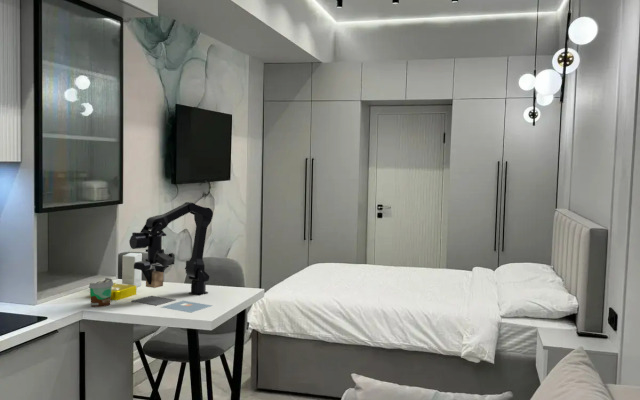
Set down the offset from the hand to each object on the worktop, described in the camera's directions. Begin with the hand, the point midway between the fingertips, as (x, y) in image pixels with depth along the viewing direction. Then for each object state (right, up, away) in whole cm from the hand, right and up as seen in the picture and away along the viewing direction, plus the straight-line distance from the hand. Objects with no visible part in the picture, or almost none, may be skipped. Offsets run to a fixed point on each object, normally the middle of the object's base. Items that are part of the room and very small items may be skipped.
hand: (154, 283), depth 251 cm
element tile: (-21, -7, +9) cm, 24 cm away
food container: (-18, -8, -8) cm, 22 cm away
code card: (+16, -9, -8) cm, 20 cm away
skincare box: (-18, -6, +28) cm, 34 cm away
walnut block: (0, -1, 0) cm, 1 cm away
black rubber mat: (0, -8, 0) cm, 8 cm away
